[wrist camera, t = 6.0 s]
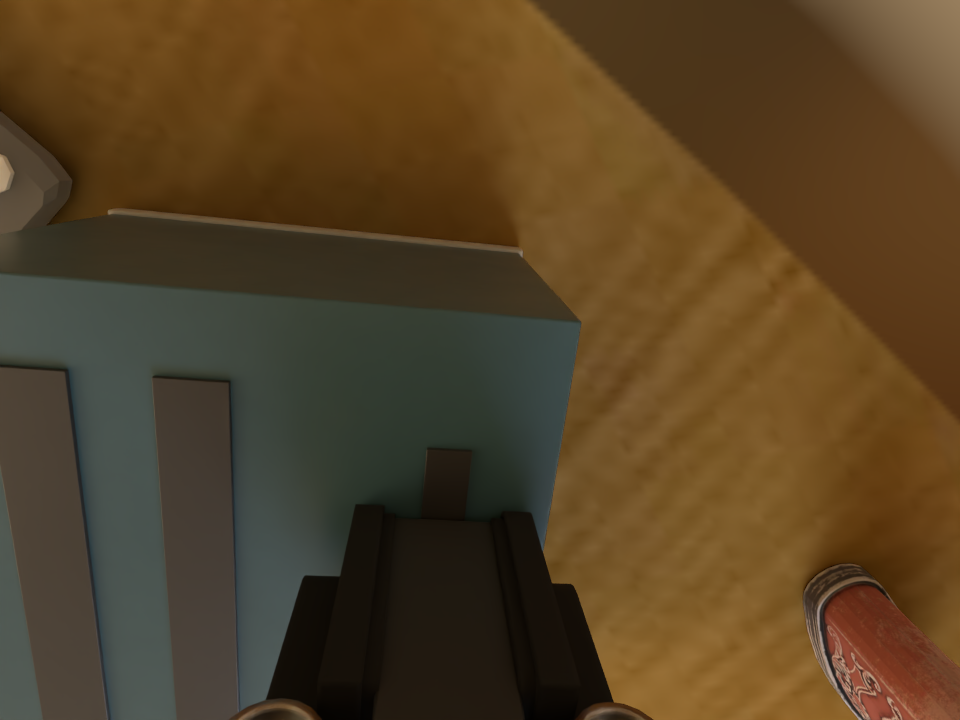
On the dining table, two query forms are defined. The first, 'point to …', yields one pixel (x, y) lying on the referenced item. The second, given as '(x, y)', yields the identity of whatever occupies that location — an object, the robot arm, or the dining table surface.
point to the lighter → (877, 650)
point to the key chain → (28, 180)
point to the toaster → (241, 437)
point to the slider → (446, 627)
